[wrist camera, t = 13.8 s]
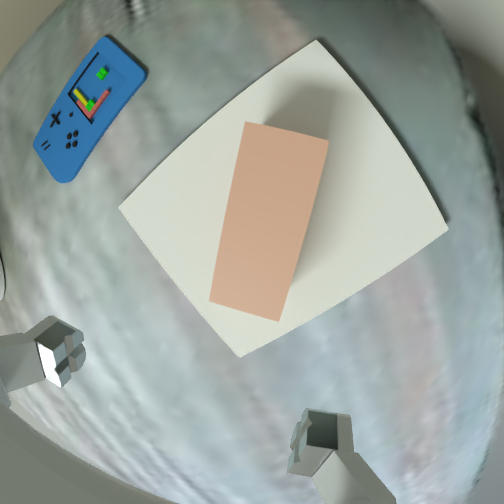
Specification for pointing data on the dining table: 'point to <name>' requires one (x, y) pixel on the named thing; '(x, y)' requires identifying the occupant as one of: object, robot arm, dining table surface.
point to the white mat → (324, 208)
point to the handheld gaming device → (87, 108)
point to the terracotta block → (266, 218)
